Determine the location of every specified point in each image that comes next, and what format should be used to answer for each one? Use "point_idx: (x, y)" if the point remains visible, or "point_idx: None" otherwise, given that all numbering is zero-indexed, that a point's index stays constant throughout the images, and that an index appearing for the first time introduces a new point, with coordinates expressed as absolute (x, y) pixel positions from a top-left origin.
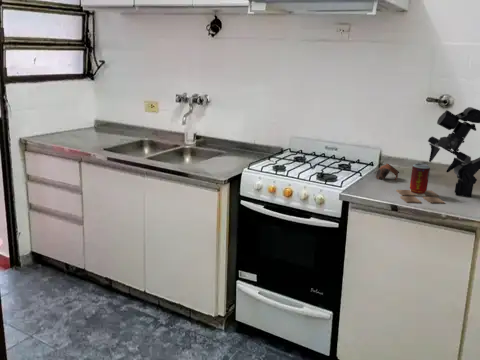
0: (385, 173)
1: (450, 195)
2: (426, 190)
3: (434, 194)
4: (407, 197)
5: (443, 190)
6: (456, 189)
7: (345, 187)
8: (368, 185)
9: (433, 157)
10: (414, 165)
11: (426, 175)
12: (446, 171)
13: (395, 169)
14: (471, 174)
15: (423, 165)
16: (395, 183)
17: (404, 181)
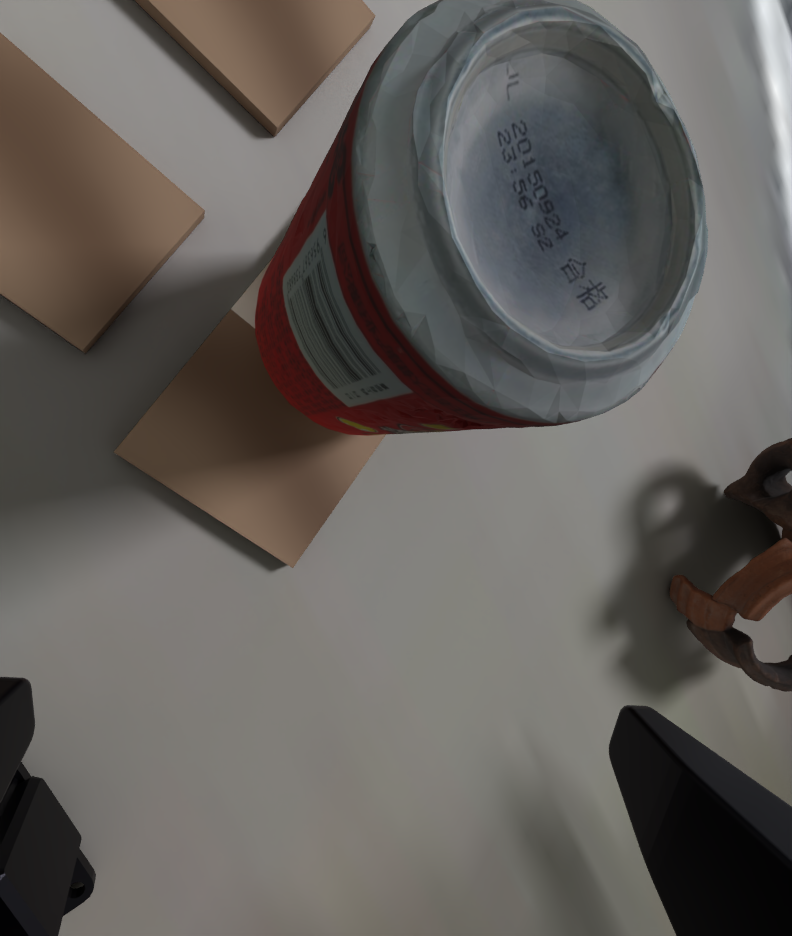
0: (776, 496)
1: (44, 654)
2: (325, 509)
3: (171, 434)
4: (300, 18)
5: (232, 762)
6: (2, 814)
7: (762, 10)
8: (706, 223)
9: (698, 919)
10: (662, 90)
11: (309, 192)
12: (15, 680)
13: (788, 678)
14: None
15: (568, 338)
16: (627, 497)
17: (617, 639)
